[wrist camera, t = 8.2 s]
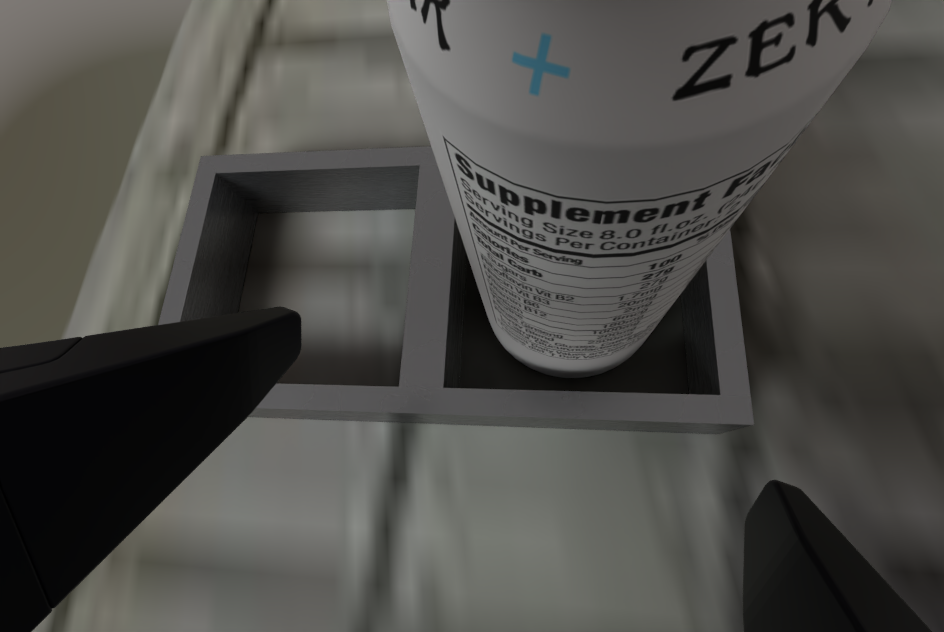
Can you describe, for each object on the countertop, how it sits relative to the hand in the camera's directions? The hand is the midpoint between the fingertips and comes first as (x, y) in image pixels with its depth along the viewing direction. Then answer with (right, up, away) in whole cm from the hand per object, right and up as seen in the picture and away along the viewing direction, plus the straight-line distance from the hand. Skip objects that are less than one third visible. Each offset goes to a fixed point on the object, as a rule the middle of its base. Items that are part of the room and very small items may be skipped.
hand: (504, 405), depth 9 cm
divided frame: (-2, +2, +10) cm, 11 cm away
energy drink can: (+3, +2, +10) cm, 10 cm away
